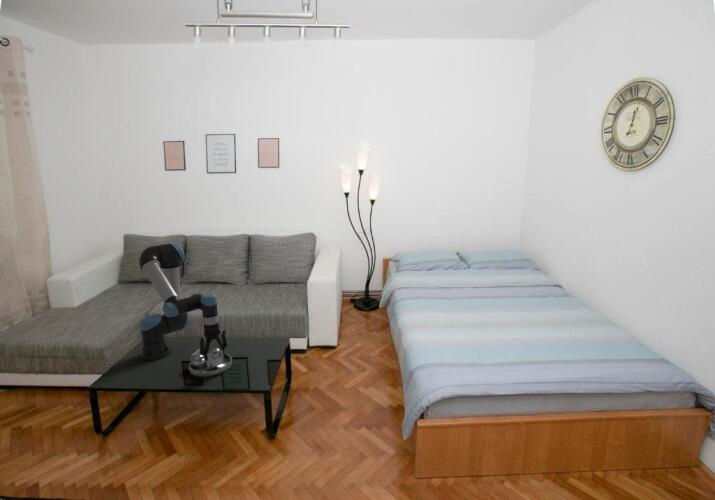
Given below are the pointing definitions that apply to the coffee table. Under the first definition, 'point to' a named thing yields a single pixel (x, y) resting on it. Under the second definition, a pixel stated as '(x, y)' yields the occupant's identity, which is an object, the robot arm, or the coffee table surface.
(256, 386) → the coffee table surface
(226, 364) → the carrier
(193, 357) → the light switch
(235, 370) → the coffee table surface
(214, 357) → the grey nut
